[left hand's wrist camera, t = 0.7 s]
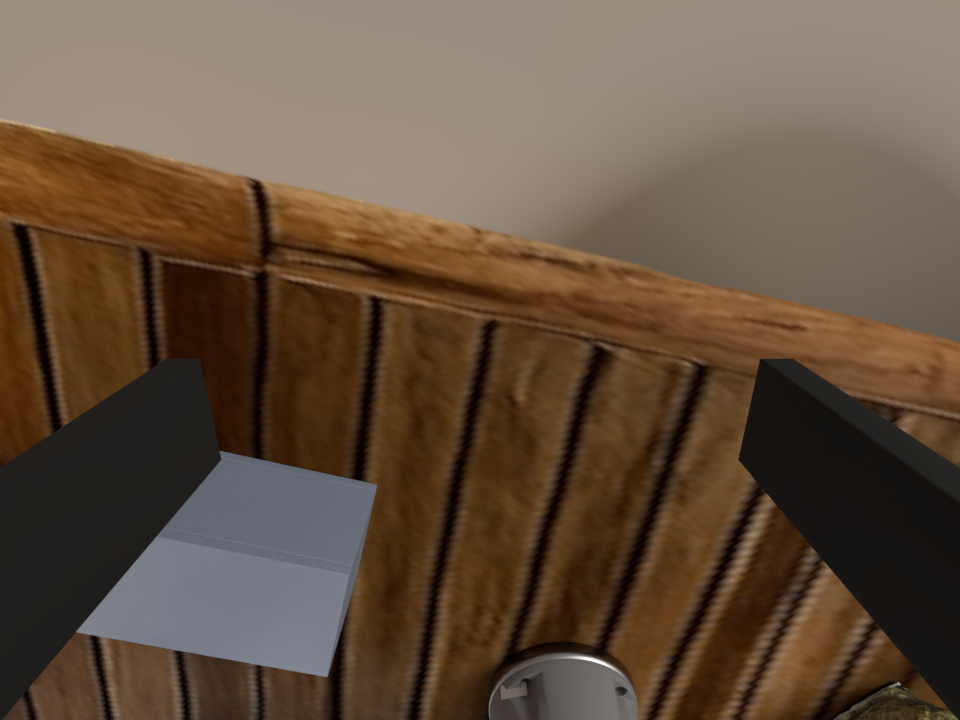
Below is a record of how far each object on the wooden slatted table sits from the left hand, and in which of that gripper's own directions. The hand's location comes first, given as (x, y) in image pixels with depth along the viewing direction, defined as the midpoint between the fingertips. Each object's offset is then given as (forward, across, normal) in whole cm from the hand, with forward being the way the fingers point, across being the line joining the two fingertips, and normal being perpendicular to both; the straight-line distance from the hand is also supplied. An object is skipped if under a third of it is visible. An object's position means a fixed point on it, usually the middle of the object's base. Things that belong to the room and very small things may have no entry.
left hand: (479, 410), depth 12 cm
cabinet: (+27, +19, +24) cm, 41 cm away
